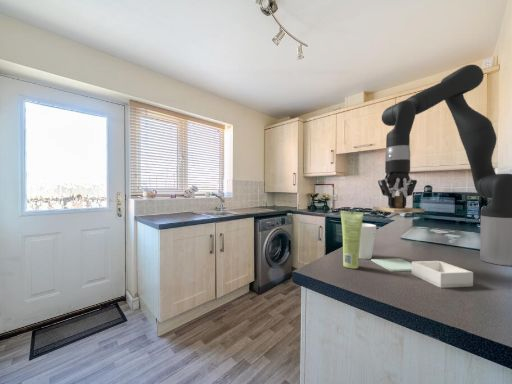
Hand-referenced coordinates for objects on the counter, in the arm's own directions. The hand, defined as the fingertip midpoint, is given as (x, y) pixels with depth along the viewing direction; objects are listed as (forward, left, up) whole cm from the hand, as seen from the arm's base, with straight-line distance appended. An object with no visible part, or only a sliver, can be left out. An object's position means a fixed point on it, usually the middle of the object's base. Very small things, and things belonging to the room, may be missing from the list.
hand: (397, 207), depth 78 cm
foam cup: (+6, -11, -21) cm, 25 cm away
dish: (-4, +13, -21) cm, 25 cm away
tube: (+17, 0, -21) cm, 27 cm away
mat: (0, 0, -21) cm, 21 cm away
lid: (0, 0, -1) cm, 1 cm away
